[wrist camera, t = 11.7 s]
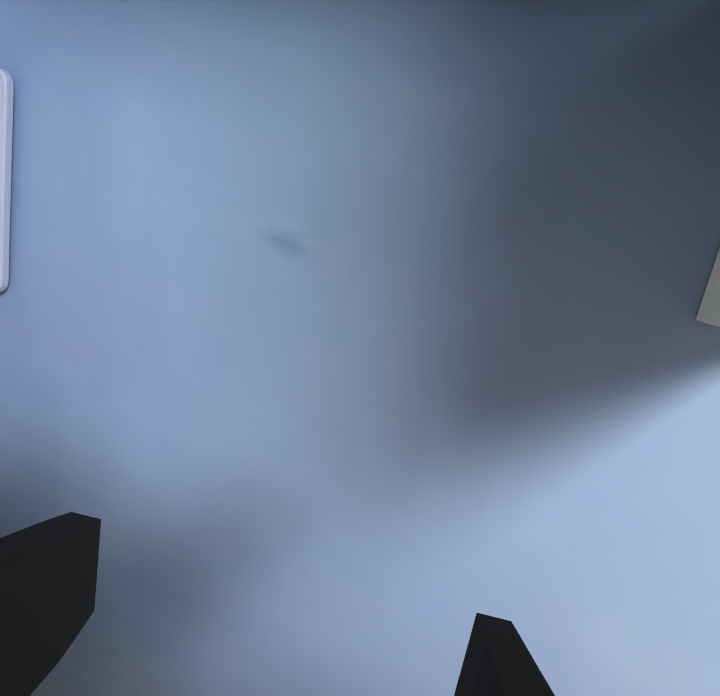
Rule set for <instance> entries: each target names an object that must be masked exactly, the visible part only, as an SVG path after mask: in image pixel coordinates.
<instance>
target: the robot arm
mask: <svg viewBox="0 0 720 696" xmlns="http://www.w3.org/2000/svg"><path fill="white" fill-rule="evenodd" d="M13 89H14V86H13V80H12V78H11V76H10V74H9V73H8V72H7V71H6V70H3V69H1V68H0V292H2V291H5V289H6V288H7V286H8V276H9V239H10V201H11V164H12V126H13ZM100 526H101V519H98V518H94V517H90V516H85V515H81V514H77V513H73V512H70V513H67V514H64V515H61V516H58V517H55V518H52V519H49V520H46V521H44V522H41V523H38V524H36V525H33V526H30V527H28V528H25V529H23V530H20V531H17V532H15V533H12V534H10V535H7V536H5V537H2V538H0V696H30V695H31V694H32V692H33V691H34V690H35V689H36V688H37V687H38V685H39V684H40V683H41V682H42V681H43V680H44V678H45V677H46V676H47V675H48V674H49V673H50V671H51V670H52V669H53V668H54V667H55V666H56V664H57V663H58V662H59V660H60V659H61V658H62V656H63V655H64V654H65V652H66V651H67V649H68V648H69V647H70V645H71V644H72V642H73V641H74V640H75V638H76V637H77V635H78V634H79V632H80V631H81V629H82V628H83V626H84V625H85V623H86V622H87V620H88V619H89V617H90V616H91V614H92V613H93V611H94V606H95V592H96V579H97V566H98V553H99V539H100ZM454 696H555V695H554V693H553V692H552V690H551V688H550V687H549V685H548V683H547V682H546V680H545V678H544V676H543V675H542V673H541V671H540V670H539V668H538V666H537V665H536V663H535V661H534V659H533V658H532V656H531V654H530V653H529V651H528V649H527V647H526V646H525V644H524V642H523V640H522V639H521V637H520V635H519V634H518V632H517V630H516V629H515V627H514V625H513V624H512V622H511V621H508V620H504V619H500V618H496V617H492V616H488V615H484V614H480V613H477V614H476V618H475V621H474V625H473V629H472V632H471V636H470V640H469V643H468V647H467V651H466V654H465V658H464V662H463V665H462V669H461V673H460V676H459V680H458V684H457V687H456V691H455V695H454Z"/></svg>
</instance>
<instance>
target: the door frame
mask: <svg viewBox="0 0 720 696" xmlns="http://www.w3.org/2000/svg"><path fill="white" fill-rule="evenodd" d="M696 320H697V321H701V322H704V323H707V324H710V325H713V326H716V327H719V328H720V248H719V251H718V254H717V257H716V260H715V263H714V266H713V269H712V272H711V275H710V278H709V281H708V284H707V287H706V290H705V293H704V296H703V299H702V302H701V305H700V308H699V311H698V314H697V317H696Z"/></svg>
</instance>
